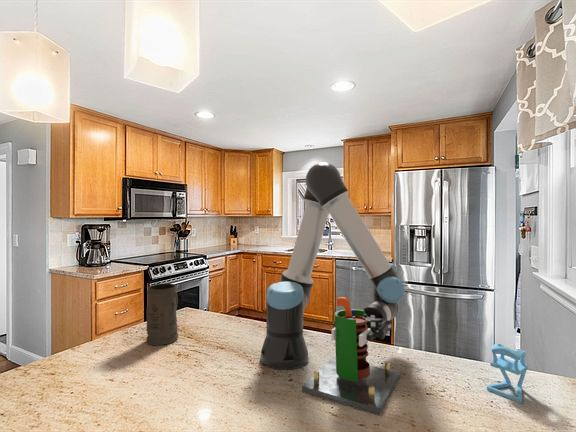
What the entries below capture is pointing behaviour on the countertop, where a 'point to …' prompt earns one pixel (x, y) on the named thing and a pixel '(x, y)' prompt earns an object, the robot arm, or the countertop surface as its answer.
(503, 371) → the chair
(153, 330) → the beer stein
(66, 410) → the countertop surface
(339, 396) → the plate
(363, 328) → the motor
